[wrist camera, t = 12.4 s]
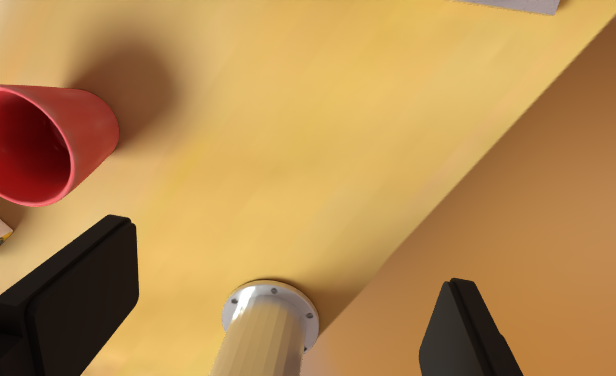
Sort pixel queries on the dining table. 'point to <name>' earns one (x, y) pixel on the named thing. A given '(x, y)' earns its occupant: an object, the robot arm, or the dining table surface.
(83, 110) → the flower pot
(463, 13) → the dining table surface
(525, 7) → the post
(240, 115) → the dining table surface
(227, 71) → the dining table surface
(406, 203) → the dining table surface
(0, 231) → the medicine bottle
